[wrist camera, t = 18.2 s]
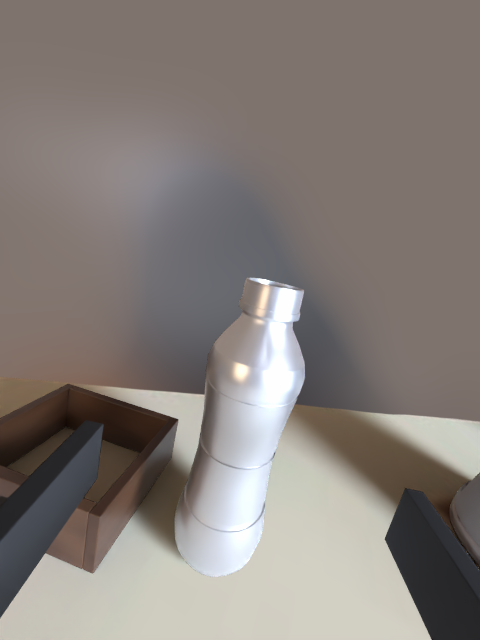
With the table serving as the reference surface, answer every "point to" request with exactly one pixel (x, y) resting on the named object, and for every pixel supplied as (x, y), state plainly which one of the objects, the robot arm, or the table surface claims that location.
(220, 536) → the silver metal bottle
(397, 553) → the robot arm
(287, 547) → the table surface
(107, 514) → the walnut box
